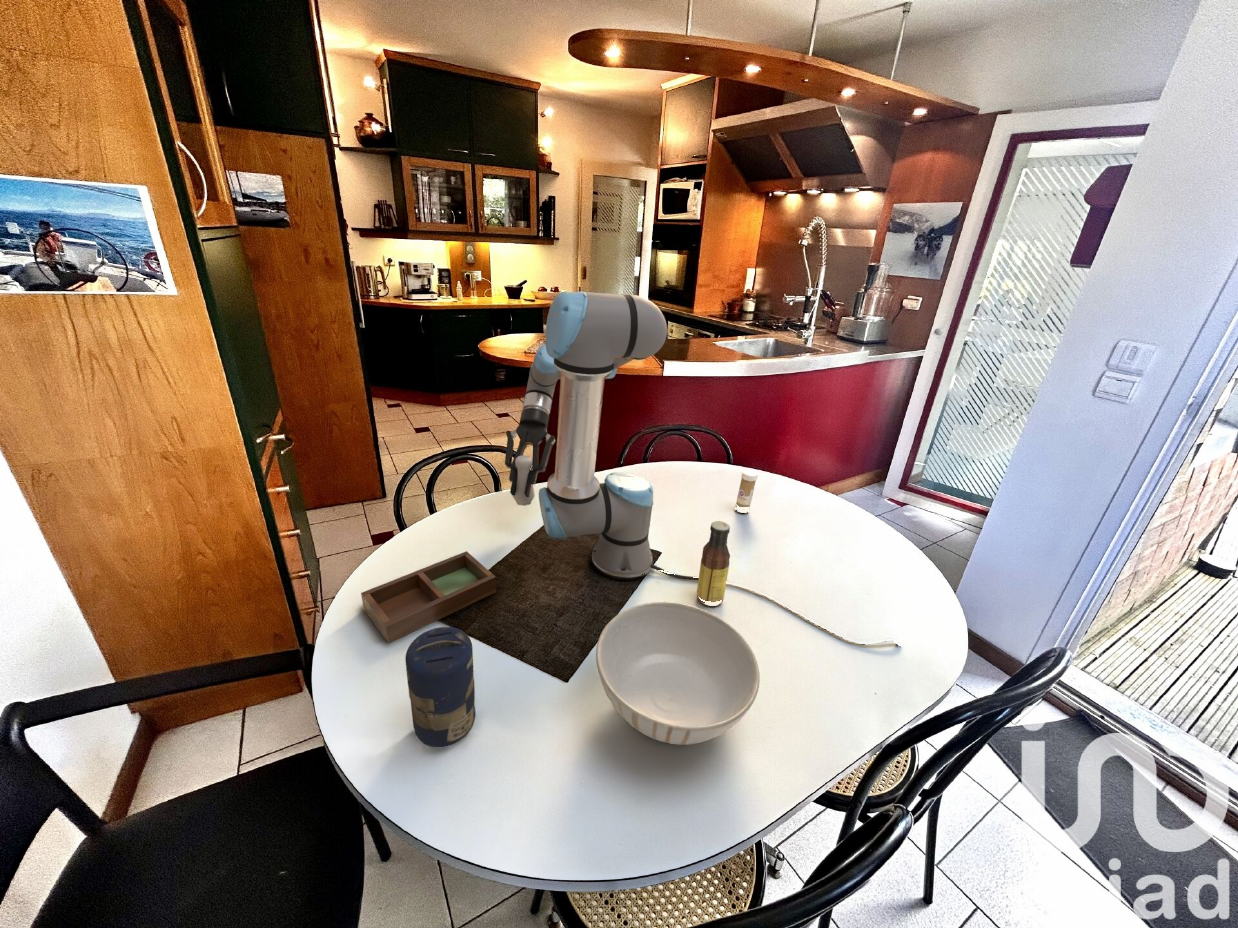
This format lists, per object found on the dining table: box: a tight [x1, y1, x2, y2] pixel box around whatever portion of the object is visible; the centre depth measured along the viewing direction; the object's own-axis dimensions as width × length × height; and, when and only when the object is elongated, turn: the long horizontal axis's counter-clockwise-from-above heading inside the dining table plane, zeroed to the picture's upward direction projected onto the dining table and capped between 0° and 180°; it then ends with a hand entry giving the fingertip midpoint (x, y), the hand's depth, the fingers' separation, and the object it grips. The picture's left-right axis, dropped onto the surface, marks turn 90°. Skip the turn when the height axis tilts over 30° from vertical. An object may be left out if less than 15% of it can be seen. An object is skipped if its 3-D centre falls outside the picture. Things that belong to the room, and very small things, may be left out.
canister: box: [404, 626, 477, 749], centre depth 76 cm, size 10×10×18 cm
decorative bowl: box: [595, 601, 761, 746], centre depth 83 cm, size 27×27×12 cm
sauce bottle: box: [696, 520, 731, 604], centre depth 109 cm, size 7×6×20 cm
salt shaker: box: [512, 454, 536, 507], centre depth 128 cm, size 6×6×13 cm
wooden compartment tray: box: [360, 550, 497, 644], centre depth 104 cm, size 12×24×4 cm, turn 135°
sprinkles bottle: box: [735, 469, 758, 508], centre depth 150 cm, size 5×5×14 cm
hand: (519, 494), depth 125 cm, fingers closed on salt shaker, 3 cm apart
